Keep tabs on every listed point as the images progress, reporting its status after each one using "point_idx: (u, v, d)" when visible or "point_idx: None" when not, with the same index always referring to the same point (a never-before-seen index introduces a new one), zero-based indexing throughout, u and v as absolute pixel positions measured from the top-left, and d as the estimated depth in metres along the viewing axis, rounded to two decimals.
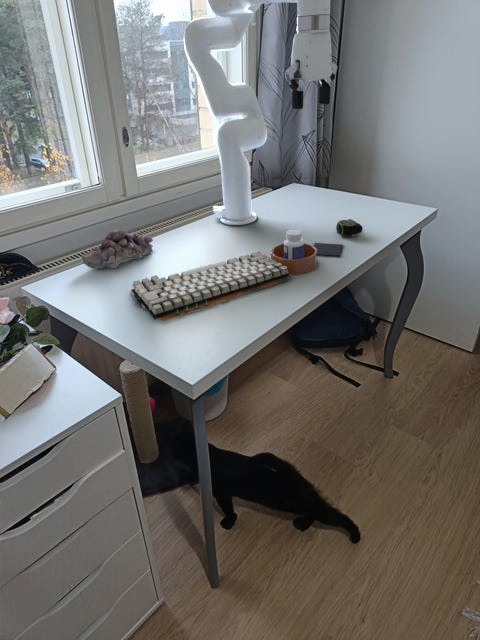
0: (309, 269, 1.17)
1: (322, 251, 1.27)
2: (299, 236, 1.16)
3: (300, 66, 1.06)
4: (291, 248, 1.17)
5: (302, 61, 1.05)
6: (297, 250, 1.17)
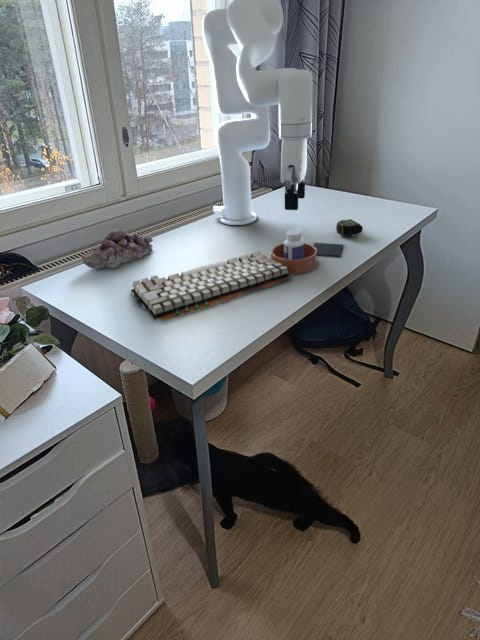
0: (309, 269, 1.17)
1: (322, 251, 1.27)
2: (299, 236, 1.16)
3: (295, 171, 1.04)
4: (291, 248, 1.17)
5: (297, 166, 1.03)
6: (297, 250, 1.17)
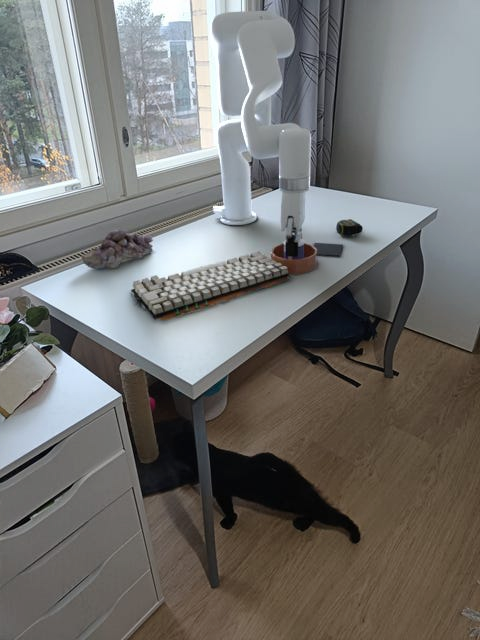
0: (309, 269, 1.17)
1: (322, 251, 1.27)
2: (299, 236, 1.16)
3: (294, 221, 1.10)
4: None
5: (296, 217, 1.10)
6: None
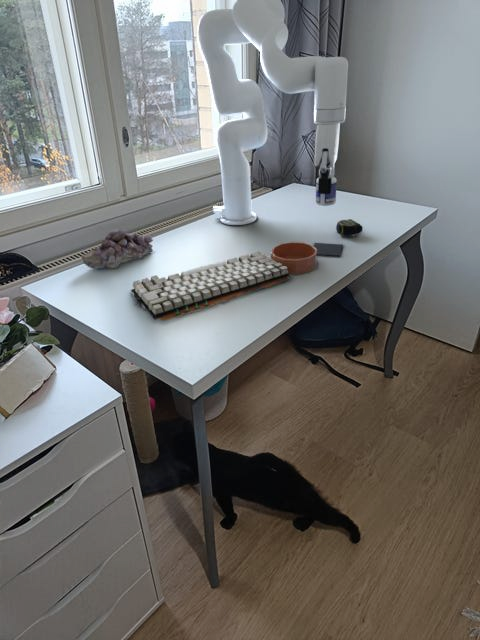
0: (309, 269, 1.17)
1: (322, 251, 1.27)
2: (332, 173, 1.15)
3: (329, 154, 1.09)
4: None
5: (331, 149, 1.09)
6: None
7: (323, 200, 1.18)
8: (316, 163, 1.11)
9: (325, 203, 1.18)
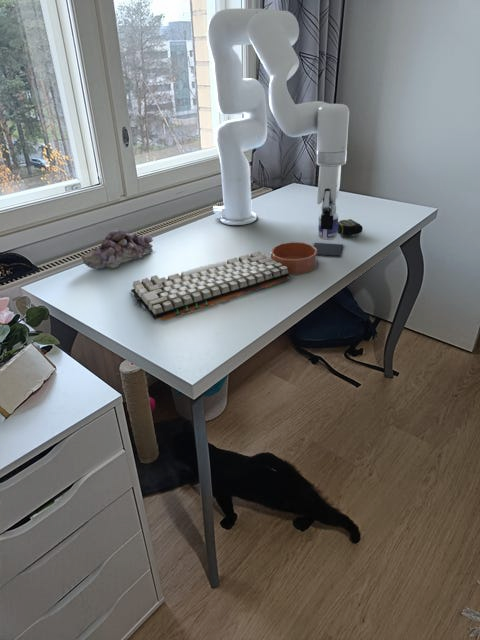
0: (309, 269, 1.17)
1: (322, 251, 1.27)
2: (334, 209, 1.21)
3: (331, 194, 1.15)
4: None
5: (333, 190, 1.15)
6: None
7: (325, 234, 1.24)
8: (319, 202, 1.17)
9: (327, 238, 1.24)
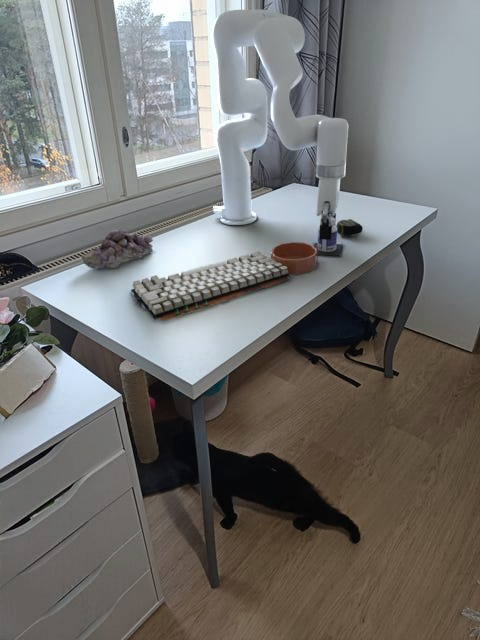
0: (309, 269, 1.17)
1: None
2: (333, 222, 1.23)
3: (330, 206, 1.17)
4: None
5: (332, 202, 1.16)
6: (331, 236, 1.24)
7: (325, 246, 1.26)
8: (318, 214, 1.19)
9: (326, 250, 1.26)
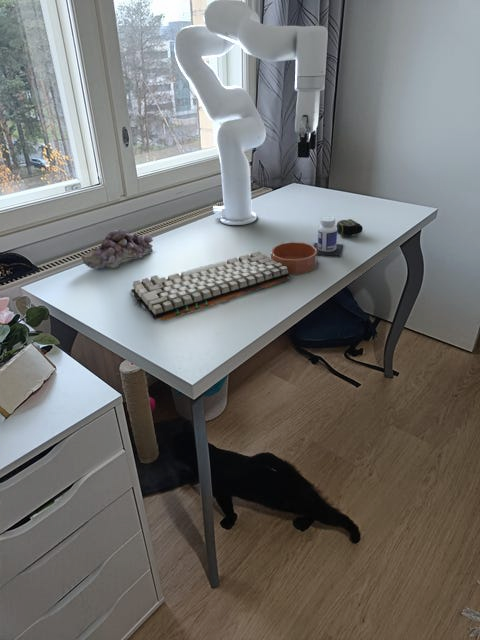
0: (309, 269, 1.17)
1: None
2: (333, 222, 1.23)
3: (308, 120, 1.15)
4: (326, 234, 1.24)
5: (310, 116, 1.14)
6: (331, 236, 1.24)
7: (325, 246, 1.26)
8: (296, 129, 1.17)
9: (326, 250, 1.26)
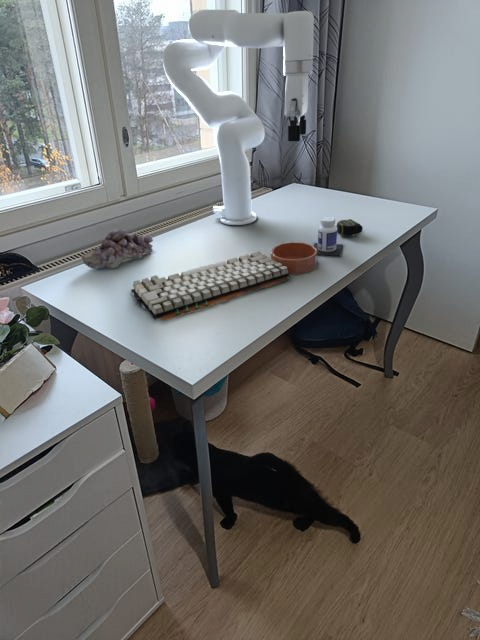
0: (309, 269, 1.17)
1: None
2: (333, 222, 1.23)
3: (297, 104, 1.18)
4: (326, 234, 1.24)
5: (299, 99, 1.17)
6: (331, 236, 1.24)
7: (325, 246, 1.26)
8: (286, 113, 1.20)
9: (326, 250, 1.26)
